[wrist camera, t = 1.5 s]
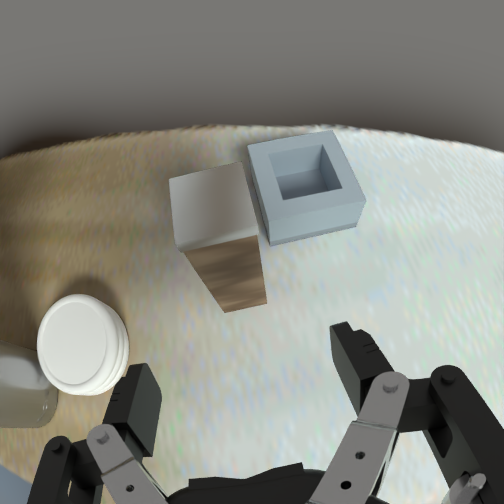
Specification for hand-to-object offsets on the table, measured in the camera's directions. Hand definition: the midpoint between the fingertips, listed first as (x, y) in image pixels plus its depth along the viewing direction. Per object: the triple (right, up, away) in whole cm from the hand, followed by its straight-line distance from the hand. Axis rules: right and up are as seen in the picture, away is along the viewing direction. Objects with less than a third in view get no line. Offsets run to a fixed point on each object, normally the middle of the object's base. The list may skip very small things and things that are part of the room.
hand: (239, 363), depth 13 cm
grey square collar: (+6, +10, +21) cm, 24 cm away
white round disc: (-16, -5, +16) cm, 23 cm away
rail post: (0, +1, +17) cm, 17 cm away
